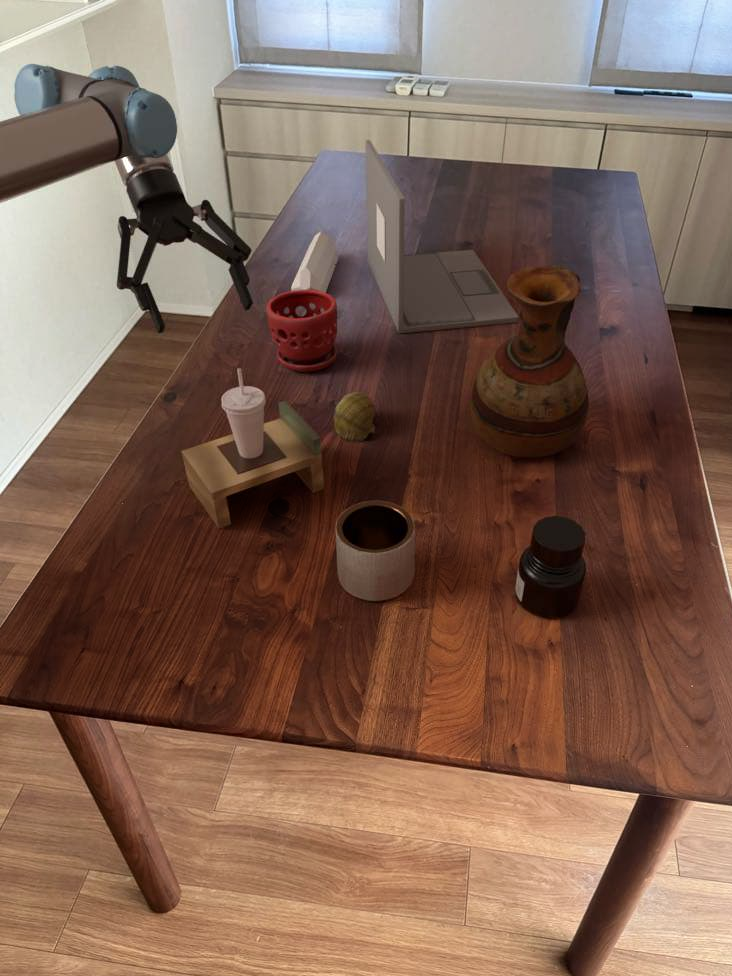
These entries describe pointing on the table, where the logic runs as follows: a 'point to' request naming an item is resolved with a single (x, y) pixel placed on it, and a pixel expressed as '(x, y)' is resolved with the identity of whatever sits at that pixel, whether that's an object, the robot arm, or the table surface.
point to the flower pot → (304, 329)
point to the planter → (375, 550)
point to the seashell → (354, 417)
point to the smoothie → (246, 417)
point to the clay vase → (533, 371)
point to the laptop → (424, 268)
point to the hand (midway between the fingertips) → (206, 318)
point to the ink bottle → (552, 568)
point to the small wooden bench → (253, 463)
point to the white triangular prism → (317, 265)
